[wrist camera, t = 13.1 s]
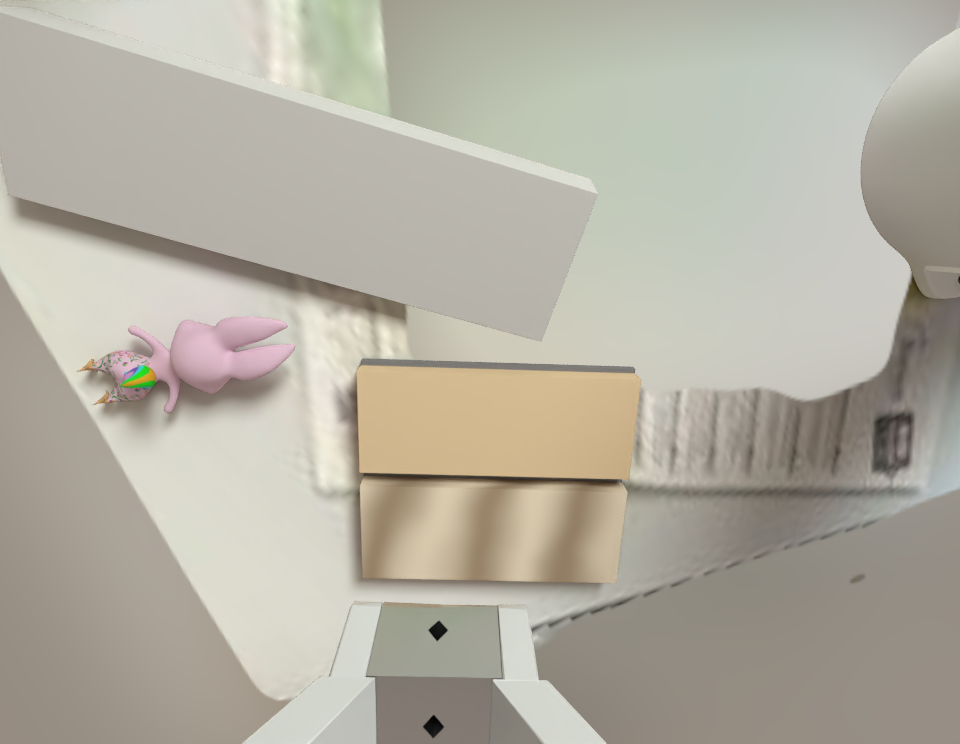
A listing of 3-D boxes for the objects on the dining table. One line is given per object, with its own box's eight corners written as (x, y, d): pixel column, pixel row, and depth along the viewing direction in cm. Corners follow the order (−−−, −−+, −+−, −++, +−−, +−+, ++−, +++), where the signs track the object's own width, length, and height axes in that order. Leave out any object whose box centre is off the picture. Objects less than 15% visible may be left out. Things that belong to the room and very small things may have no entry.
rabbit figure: (138, 412, 41) (318, 372, 37) (69, 448, 35) (274, 404, 32) (100, 332, 39) (286, 283, 36) (22, 356, 33) (234, 301, 30)
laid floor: (632, 366, 39) (641, 375, 37) (608, 573, 43) (615, 590, 41) (362, 358, 38) (356, 366, 36) (367, 568, 43) (362, 585, 41)
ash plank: (621, 482, 40) (627, 492, 39) (611, 570, 42) (616, 583, 41) (363, 475, 40) (359, 485, 38) (366, 565, 42) (362, 577, 41)
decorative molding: (539, 310, 40) (588, 175, 35) (541, 341, 36) (598, 194, 31) (63, 177, 37) (42, 8, 32) (8, 194, 33) (-28, 3, 28)
